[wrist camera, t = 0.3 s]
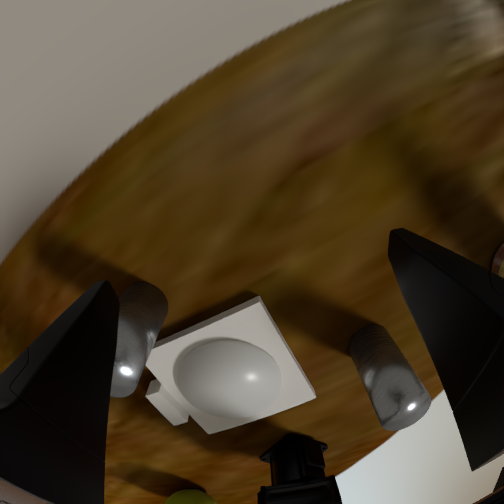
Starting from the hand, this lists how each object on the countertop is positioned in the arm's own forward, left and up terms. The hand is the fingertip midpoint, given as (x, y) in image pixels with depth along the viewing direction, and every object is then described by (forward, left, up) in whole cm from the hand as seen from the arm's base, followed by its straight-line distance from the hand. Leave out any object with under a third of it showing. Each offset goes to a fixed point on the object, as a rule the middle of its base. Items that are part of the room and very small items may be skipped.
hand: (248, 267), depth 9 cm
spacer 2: (-6, -18, -16) cm, 25 cm away
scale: (-17, -7, -16) cm, 24 cm away
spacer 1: (-13, +3, -16) cm, 21 cm away
